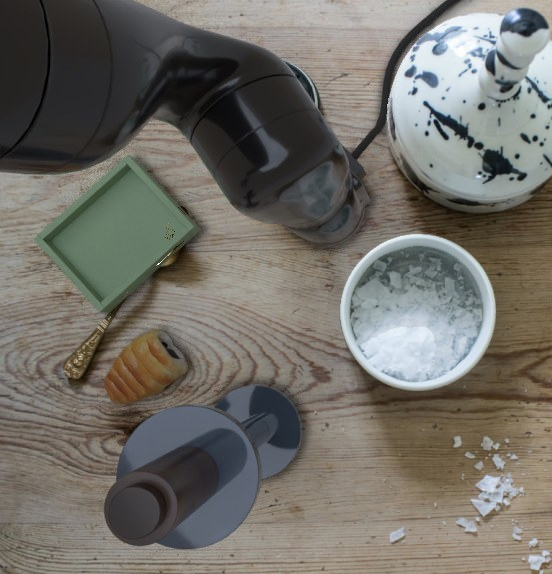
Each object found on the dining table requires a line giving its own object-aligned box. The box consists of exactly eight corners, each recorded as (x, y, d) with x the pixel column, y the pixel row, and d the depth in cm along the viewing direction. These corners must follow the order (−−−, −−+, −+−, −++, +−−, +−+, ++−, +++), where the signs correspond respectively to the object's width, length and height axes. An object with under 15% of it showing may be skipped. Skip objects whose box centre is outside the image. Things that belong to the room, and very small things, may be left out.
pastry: (132, 417, 72) (116, 422, 69) (98, 372, 73) (79, 375, 69) (195, 367, 73) (183, 369, 69) (161, 322, 73) (146, 322, 69)
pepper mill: (189, 433, 52) (137, 459, 42) (231, 478, 52) (187, 515, 42) (143, 475, 52) (80, 511, 42) (185, 521, 51) (130, 568, 42)
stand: (259, 359, 73) (192, 375, 52) (327, 433, 73) (288, 480, 52) (184, 428, 72) (85, 473, 51) (252, 503, 72) (181, 580, 51)
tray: (136, 159, 74) (127, 154, 72) (201, 229, 74) (194, 226, 71) (45, 241, 73) (32, 239, 71) (109, 312, 73) (99, 312, 71)
